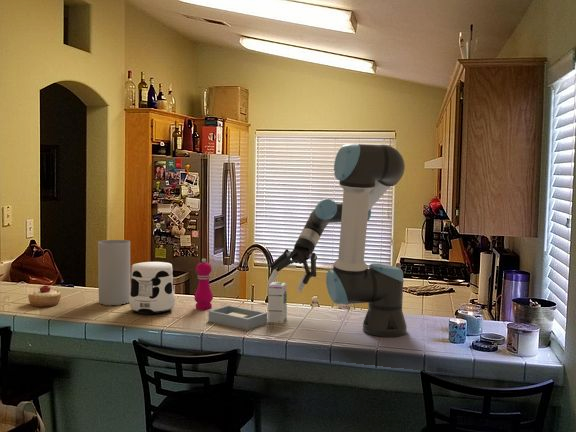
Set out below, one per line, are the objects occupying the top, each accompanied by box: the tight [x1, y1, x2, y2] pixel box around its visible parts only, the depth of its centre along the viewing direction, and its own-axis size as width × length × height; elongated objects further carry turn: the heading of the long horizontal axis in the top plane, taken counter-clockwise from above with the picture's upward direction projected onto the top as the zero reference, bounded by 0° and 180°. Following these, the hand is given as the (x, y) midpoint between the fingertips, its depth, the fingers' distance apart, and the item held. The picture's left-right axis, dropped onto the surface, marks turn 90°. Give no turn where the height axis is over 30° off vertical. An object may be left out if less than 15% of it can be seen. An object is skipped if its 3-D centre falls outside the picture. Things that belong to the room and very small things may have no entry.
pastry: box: [27, 283, 62, 308], centre depth 235 cm, size 12×12×9 cm
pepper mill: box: [194, 258, 214, 311], centre depth 232 cm, size 7×7×20 cm
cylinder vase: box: [97, 239, 131, 306], centre depth 239 cm, size 12×12×25 cm
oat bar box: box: [229, 312, 248, 318], centre depth 211 cm, size 7×4×2 cm, turn 56°
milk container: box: [128, 261, 176, 315], centre depth 227 cm, size 17×17×18 cm
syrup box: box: [267, 281, 288, 324], centre depth 213 cm, size 6×6×14 cm
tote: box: [208, 304, 268, 331], centre depth 211 cm, size 18×11×4 cm, turn 56°
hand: (283, 287), depth 218 cm, fingers open, 13 cm apart
